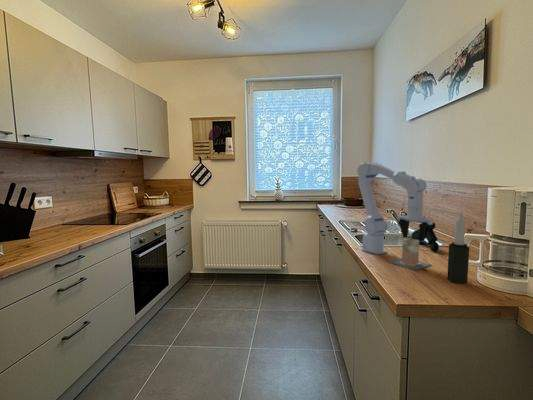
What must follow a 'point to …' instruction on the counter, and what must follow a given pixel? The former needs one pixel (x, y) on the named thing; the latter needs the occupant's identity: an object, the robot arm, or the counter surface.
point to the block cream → (410, 245)
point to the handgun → (428, 237)
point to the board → (414, 267)
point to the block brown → (410, 258)
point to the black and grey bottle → (458, 254)
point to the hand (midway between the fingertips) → (413, 238)
